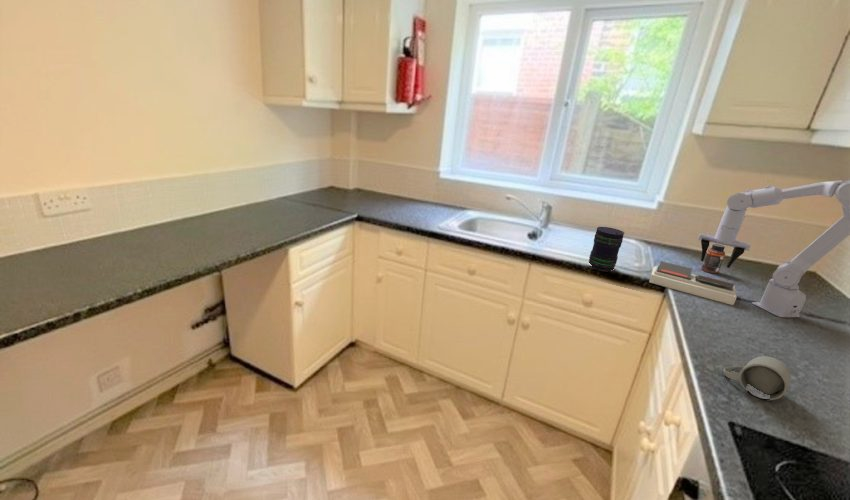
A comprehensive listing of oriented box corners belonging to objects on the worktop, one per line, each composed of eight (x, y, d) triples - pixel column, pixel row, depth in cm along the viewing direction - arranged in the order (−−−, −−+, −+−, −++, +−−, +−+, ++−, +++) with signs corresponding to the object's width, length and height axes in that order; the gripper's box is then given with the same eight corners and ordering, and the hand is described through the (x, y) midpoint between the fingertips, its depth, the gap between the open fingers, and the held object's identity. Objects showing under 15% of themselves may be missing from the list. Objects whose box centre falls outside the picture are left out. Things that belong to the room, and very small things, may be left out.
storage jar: (582, 262, 153) (590, 226, 148) (601, 261, 157) (610, 226, 152) (600, 272, 145) (610, 234, 140) (620, 270, 148) (630, 234, 143)
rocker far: (691, 271, 139) (692, 268, 139) (689, 281, 134) (690, 278, 134) (659, 263, 144) (660, 260, 144) (656, 273, 140) (657, 270, 139)
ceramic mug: (784, 392, 84) (798, 362, 82) (778, 408, 79) (793, 376, 76) (726, 367, 91) (737, 340, 89) (717, 380, 86) (728, 351, 84)
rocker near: (729, 286, 133) (730, 282, 133) (732, 287, 127) (734, 283, 127) (695, 277, 139) (697, 274, 138) (697, 278, 133) (698, 275, 132)
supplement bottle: (721, 275, 154) (731, 248, 150) (705, 272, 155) (714, 246, 151) (713, 269, 160) (723, 244, 156) (698, 267, 160) (707, 242, 157)
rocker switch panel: (731, 293, 136) (735, 283, 135) (733, 305, 126) (737, 294, 125) (652, 273, 149) (655, 263, 147) (648, 282, 139) (652, 272, 138)
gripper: (754, 230, 131) (739, 266, 135) (704, 220, 138) (691, 255, 143) (756, 234, 125) (740, 272, 130) (704, 223, 132) (690, 259, 137)
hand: (714, 263), depth 136 cm, fingers open, 7 cm apart
